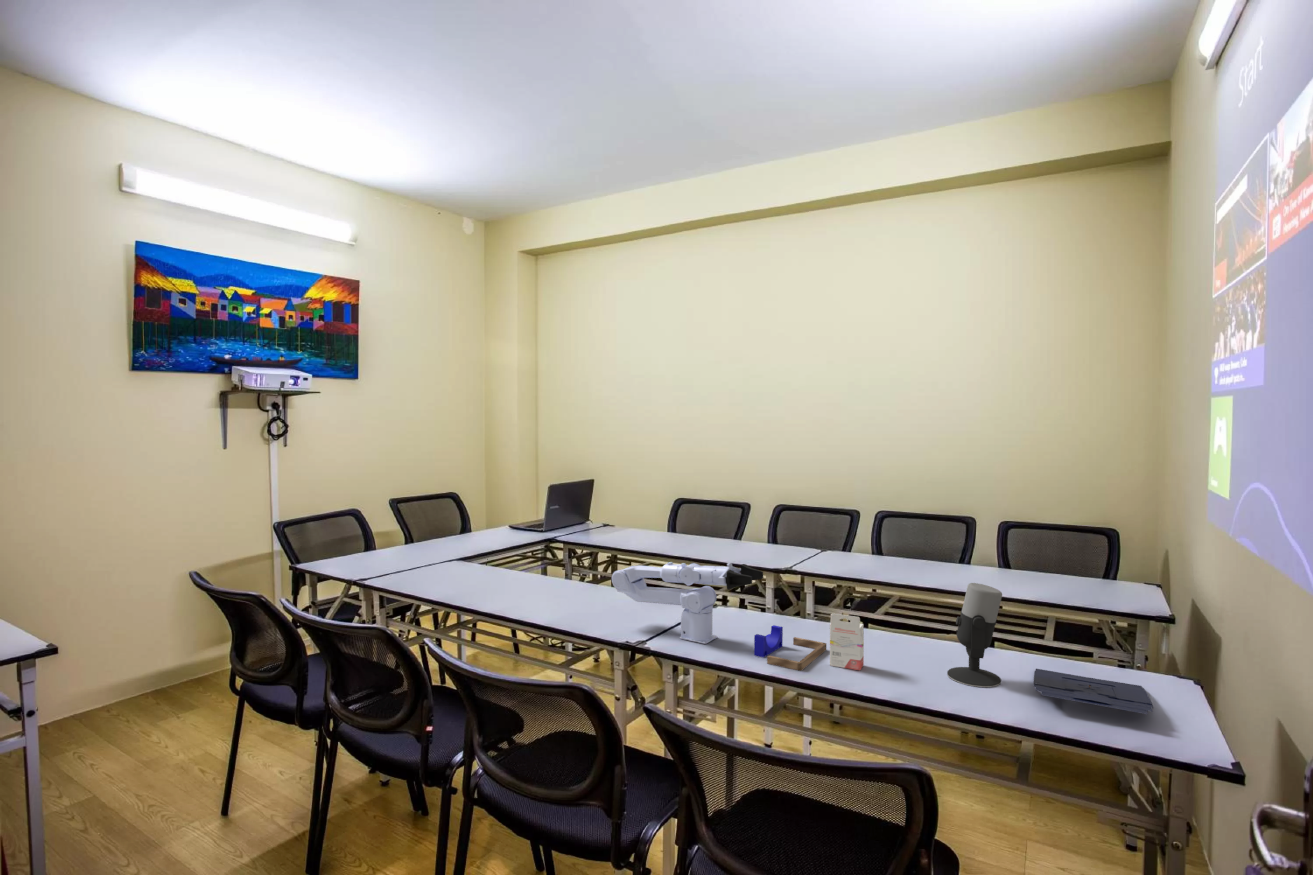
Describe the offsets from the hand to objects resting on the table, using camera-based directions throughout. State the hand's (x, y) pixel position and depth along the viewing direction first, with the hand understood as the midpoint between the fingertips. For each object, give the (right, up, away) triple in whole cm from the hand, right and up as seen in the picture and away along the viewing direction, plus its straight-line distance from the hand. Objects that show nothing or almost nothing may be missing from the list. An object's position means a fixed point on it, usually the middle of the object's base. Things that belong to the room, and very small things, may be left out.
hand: (757, 577), depth 202 cm
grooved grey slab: (+77, -24, -33) cm, 87 cm away
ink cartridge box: (+23, -22, -11) cm, 34 cm away
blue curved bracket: (+3, -22, +1) cm, 22 cm away
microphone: (+55, -23, -20) cm, 62 cm away
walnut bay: (+11, -22, -4) cm, 25 cm away
